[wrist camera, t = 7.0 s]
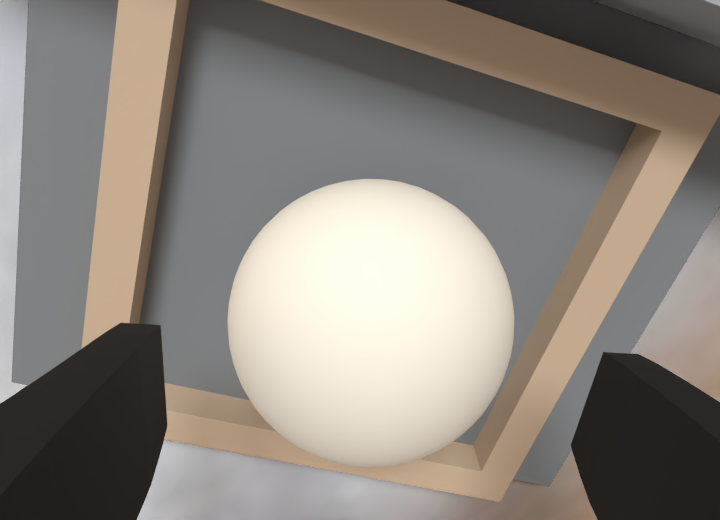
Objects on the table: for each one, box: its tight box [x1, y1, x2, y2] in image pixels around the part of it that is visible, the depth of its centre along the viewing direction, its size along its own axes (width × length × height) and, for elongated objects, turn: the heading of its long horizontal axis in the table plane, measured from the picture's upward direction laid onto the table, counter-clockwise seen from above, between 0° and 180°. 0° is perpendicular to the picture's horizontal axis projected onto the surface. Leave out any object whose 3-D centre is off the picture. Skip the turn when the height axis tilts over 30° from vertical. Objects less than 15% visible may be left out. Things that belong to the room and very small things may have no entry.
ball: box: [227, 179, 514, 468], centre depth 11 cm, size 6×6×6 cm
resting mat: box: [12, 0, 720, 502], centre depth 13 cm, size 16×12×2 cm
